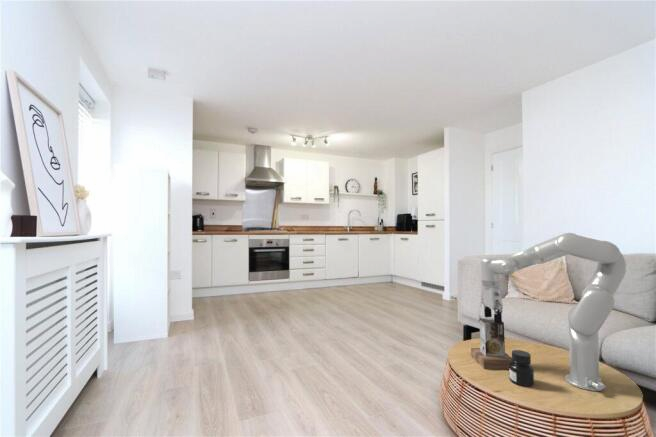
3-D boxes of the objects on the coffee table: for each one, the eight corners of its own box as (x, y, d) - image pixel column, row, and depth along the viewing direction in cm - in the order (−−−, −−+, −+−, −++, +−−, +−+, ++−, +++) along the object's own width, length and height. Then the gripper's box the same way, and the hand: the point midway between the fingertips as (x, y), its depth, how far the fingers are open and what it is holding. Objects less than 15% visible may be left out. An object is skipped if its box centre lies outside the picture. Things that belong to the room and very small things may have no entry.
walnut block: (515, 368, 144) (515, 360, 144) (484, 368, 144) (484, 359, 145) (499, 356, 158) (499, 348, 158) (471, 356, 158) (471, 348, 159)
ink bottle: (510, 374, 139) (510, 347, 139) (534, 380, 134) (533, 351, 134) (508, 383, 131) (507, 354, 131) (533, 390, 126) (533, 359, 126)
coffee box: (499, 351, 154) (498, 318, 154) (505, 356, 148) (504, 322, 148) (479, 351, 155) (479, 318, 155) (485, 356, 148) (484, 321, 149)
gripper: (508, 286, 143) (510, 325, 143) (490, 281, 161) (492, 314, 160) (491, 287, 144) (494, 325, 143) (475, 281, 161) (477, 315, 160)
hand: (493, 319), depth 151 cm, fingers open, 9 cm apart
